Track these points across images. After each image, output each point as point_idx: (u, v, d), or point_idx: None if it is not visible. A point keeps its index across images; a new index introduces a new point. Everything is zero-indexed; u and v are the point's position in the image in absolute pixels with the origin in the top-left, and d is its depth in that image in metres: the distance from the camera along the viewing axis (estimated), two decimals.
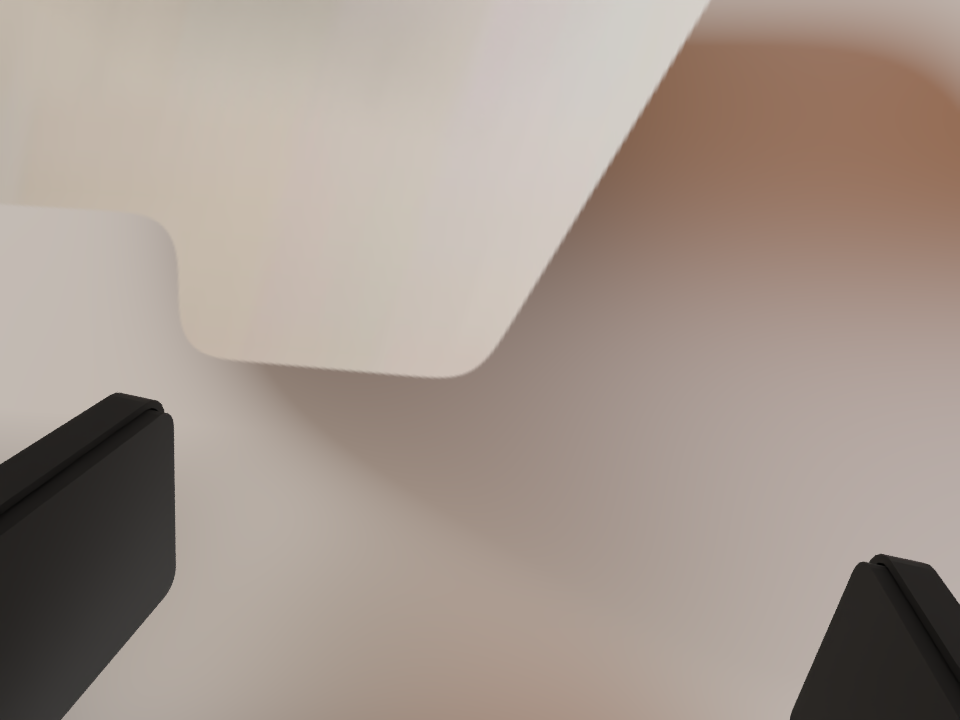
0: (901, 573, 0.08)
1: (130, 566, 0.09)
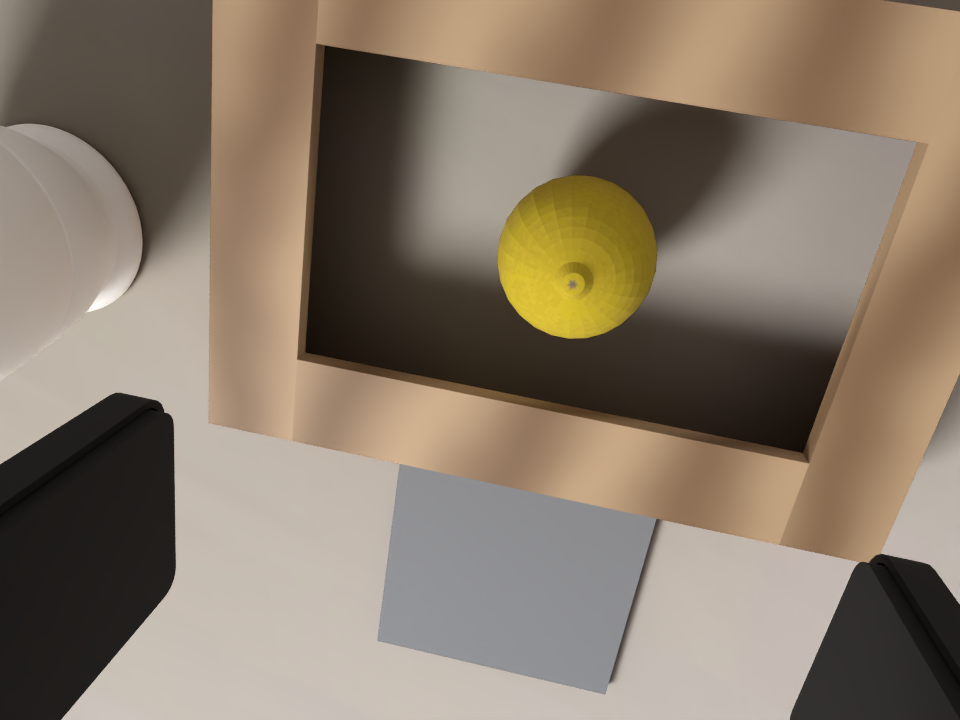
0: (901, 573, 0.08)
1: (130, 566, 0.09)
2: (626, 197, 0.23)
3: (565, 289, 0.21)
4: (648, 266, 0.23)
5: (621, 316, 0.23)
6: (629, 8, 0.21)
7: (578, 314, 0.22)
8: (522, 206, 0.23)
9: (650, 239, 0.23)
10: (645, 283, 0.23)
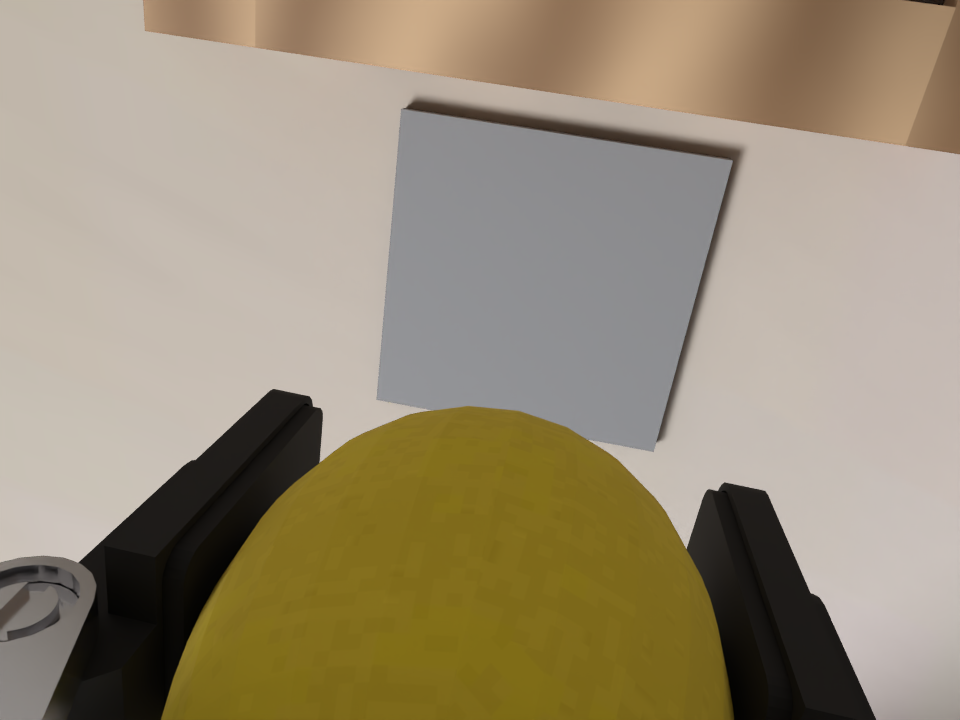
0: (736, 496, 0.09)
1: None
2: (624, 575, 0.06)
3: None
4: None
5: None
6: None
7: None
8: (229, 591, 0.06)
9: None
10: None
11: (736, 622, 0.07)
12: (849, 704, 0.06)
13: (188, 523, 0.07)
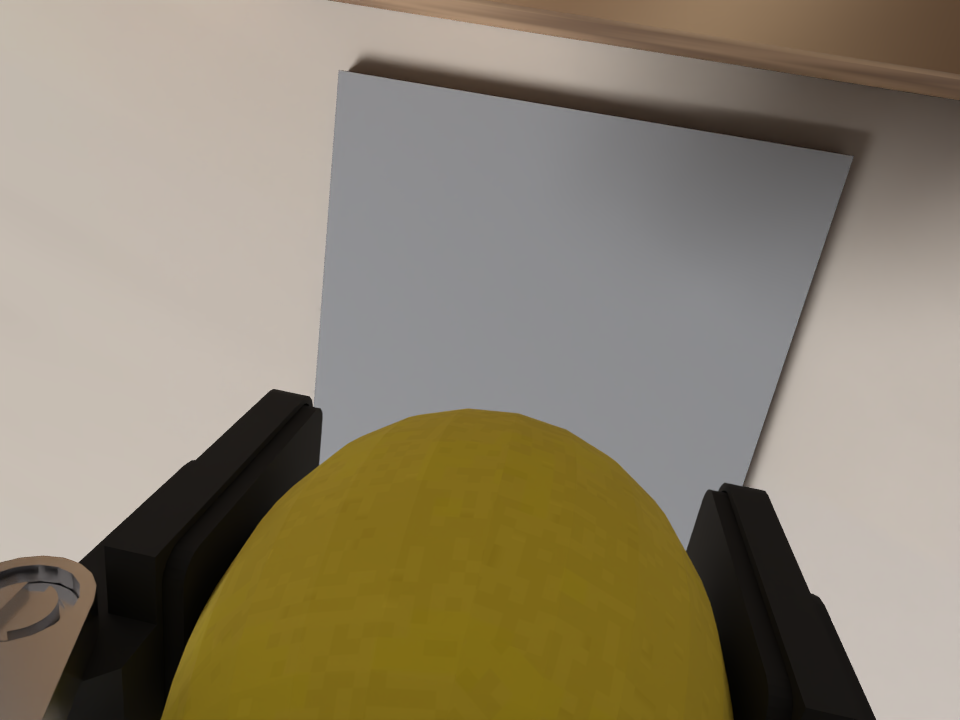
0: (735, 496, 0.09)
1: None
2: (623, 579, 0.06)
3: None
4: None
5: None
6: None
7: None
8: (227, 595, 0.06)
9: None
10: None
11: (736, 622, 0.07)
12: (848, 704, 0.06)
13: (188, 523, 0.07)
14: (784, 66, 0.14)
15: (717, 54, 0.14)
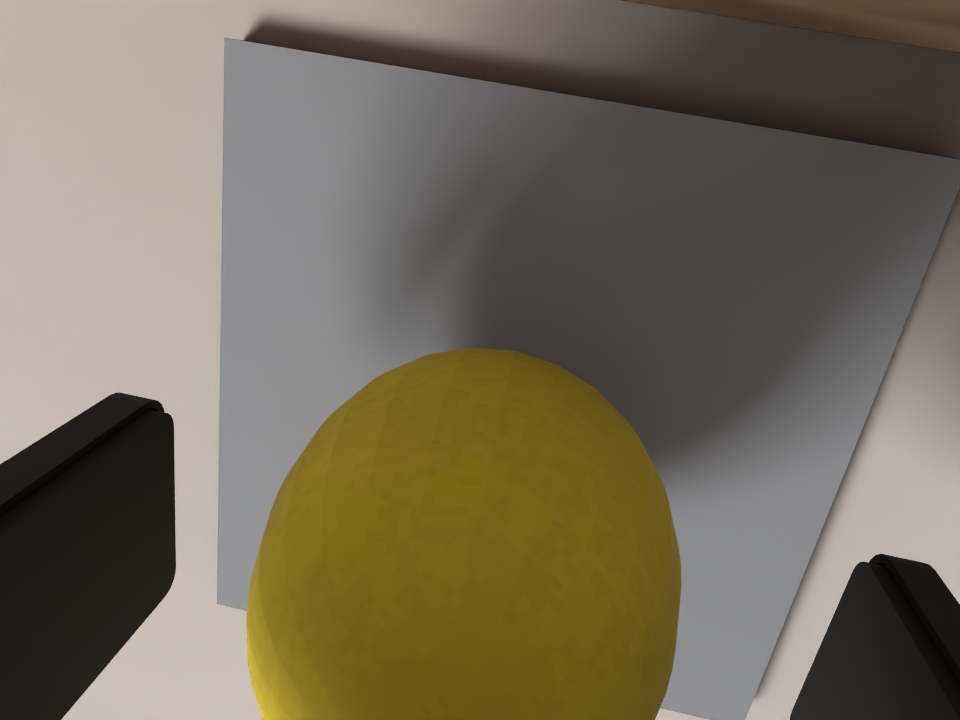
0: (901, 573, 0.08)
1: (130, 566, 0.09)
2: (597, 450, 0.08)
3: None
4: (664, 673, 0.08)
5: None
6: None
7: None
8: (305, 469, 0.08)
9: (667, 580, 0.08)
10: None
11: None
12: None
13: None
14: (881, 25, 0.09)
15: (780, 6, 0.09)
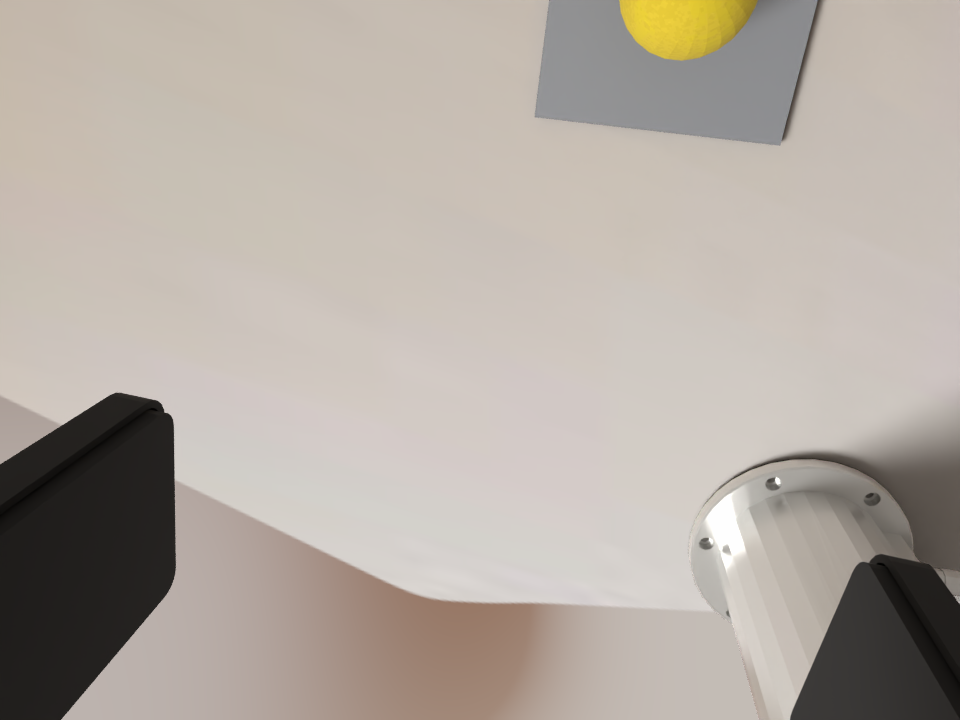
0: (901, 573, 0.08)
1: (130, 566, 0.09)
2: None
3: None
4: None
5: (739, 18, 0.27)
6: None
7: (705, 9, 0.26)
8: None
9: None
10: None
11: None
12: None
13: None
14: None
15: None
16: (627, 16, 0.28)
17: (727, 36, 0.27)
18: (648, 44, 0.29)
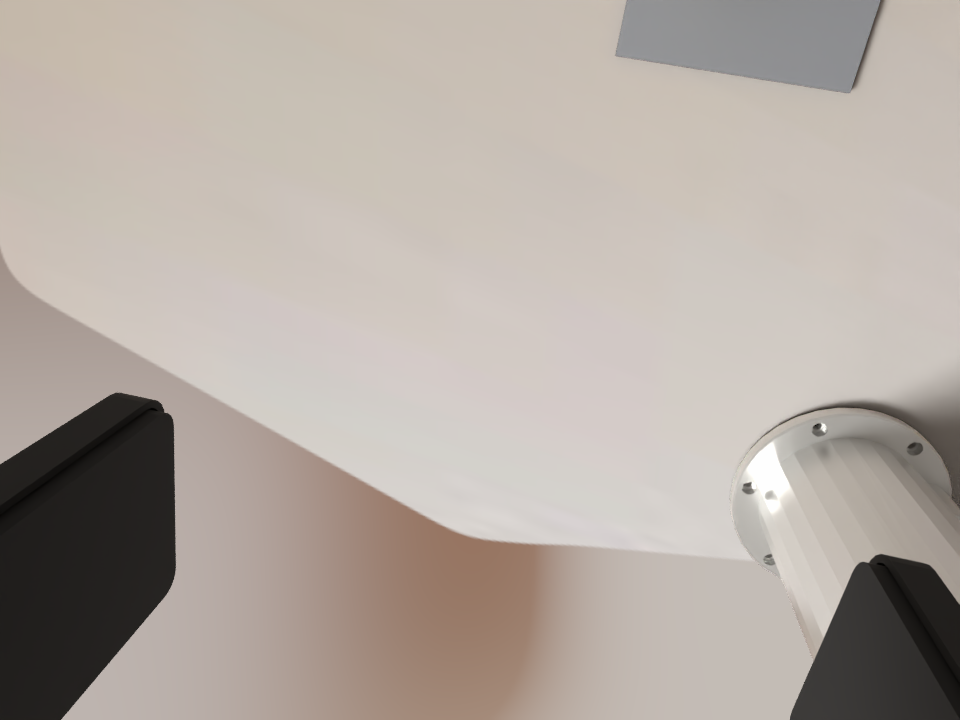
0: (901, 573, 0.08)
1: (130, 566, 0.09)
2: None
3: None
4: None
5: None
6: None
7: None
8: None
9: None
10: None
11: None
12: None
13: None
14: None
15: None
16: None
17: None
18: None
